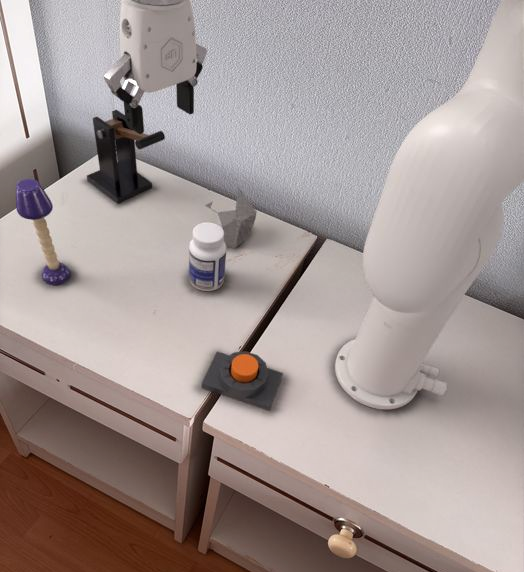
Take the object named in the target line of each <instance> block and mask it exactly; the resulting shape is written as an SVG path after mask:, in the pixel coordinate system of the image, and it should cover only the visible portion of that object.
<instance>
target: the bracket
mask: <svg viewBox="0 0 524 572" xmlns="http://www.w3.org/2000/svg"><path fill="white" fill-rule="evenodd" d="M111 114H112V115H111V116H112V119H114V120H118V121H122V124H123V128H126V129H130V130H132V129H131V128H129V127H128V126H127V124H126V121H125V113H122V112H121V111H119V110H118V109H114V110H111ZM105 121H106V120H103V119H101V118H100V117H98V116H95V117H92V125H93V132H94V138H95V139H94V140H95V146H96V152H97V159H98V166H99V170H97V171H94V172H91V173H89V174H87V175H86V180H87V182H88V183H90V185H92V186H93V187H95V188H96V189H97V190H98V191H100V192H101V193H102V194H104V195H105V196H106V197H108V198H109V199H110V200H112V201H113V202H114V203H116V204H117V205H120V204H122V203H124V202H127V201H128V200H130V199H132V198H135V197H137V196H139V195H141V194H143V193H145V192H148V191H149V190H152V189H153V182H152V181H150V180H149V179H148V178H146V177H145V176H144V175H142V174H141V173H139V172H138V168H137V155H136V145H135V141H136V140H133V139H130V138H126V137H121V138H119V139H116V140H115V136H114V128H113V127H112V126H110V125H109V124H107V123H106V122H105ZM133 131H134V130H133Z"/></svg>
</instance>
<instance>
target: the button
mask: <svg viewBox="0 0 524 572" xmlns="http://www.w3.org/2000/svg"><path fill="white" fill-rule="evenodd" d="M257 372H258V362H257V360H256V359H255V358H254V357H253V356H251V355H247V354H241V355H238V356H236V357H235V358H234V359H233V361H232V366H231V374H232V376H233V378H234V379H235V380H237V381H239V382H242V383H248V382H251V381H253V380H254V379H255V378H256V376H257Z"/></svg>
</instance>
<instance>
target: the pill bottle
mask: <svg viewBox="0 0 524 572" xmlns="http://www.w3.org/2000/svg"><path fill="white" fill-rule="evenodd" d="M222 228H223V227H222V226H220V225H219V224H217V223H215V222H209V221H208V222H207V221H206V222H201V223H198V224H197V225H195V226H194V227H193V230H192V239H191V240H190V241H189V244H188V279H189V282H190V284H191V285H192V286H193V287H194V289H196V290H199V291H202V292H212V291H216V290H218V289H219V288H221V287H222V285H223V284H224V282H225V277H226V276H225V274H226V259H227V247H226V244H225V242H224V231H223V229H222Z"/></svg>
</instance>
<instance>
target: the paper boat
mask: <svg viewBox="0 0 524 572" xmlns="http://www.w3.org/2000/svg"><path fill="white" fill-rule="evenodd" d="M236 186H237V187H236V188H237V189H236V199H235V200H236V201H235V209H233V210H225V211H216V210H215V209H213V208H212V206H213V203H214V202H213V201H210V202H208V203H207V204H205V205H204V206H205V207H207V208H208V209H210V210H211V211H213V212H215V213H216V214H217V216H218V219H219V221H220V225H221V228H222V229H223V231H224V242H225V244H226V248H230V249H236V248H237V247H238V246H240V245H241V244H242V243H243V242H244V241H245V240H246V239H247V237H249V236H250V234H252V231H253V228H254V225H255V221H256V218H257V210H256V208H255V207H254V206H253V204H252V203H251V202H250V200H249V199H248V197H247V196H246V195H245V193H244V192H243V191H242V190H241V188H240V187H239V186H238V185H236Z"/></svg>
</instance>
